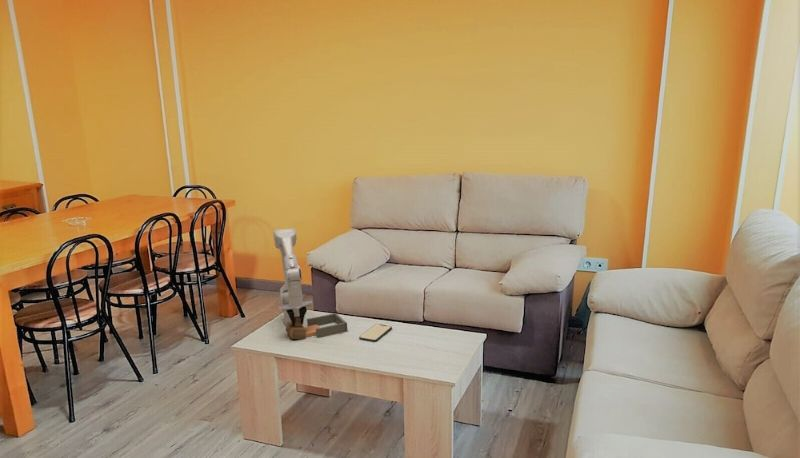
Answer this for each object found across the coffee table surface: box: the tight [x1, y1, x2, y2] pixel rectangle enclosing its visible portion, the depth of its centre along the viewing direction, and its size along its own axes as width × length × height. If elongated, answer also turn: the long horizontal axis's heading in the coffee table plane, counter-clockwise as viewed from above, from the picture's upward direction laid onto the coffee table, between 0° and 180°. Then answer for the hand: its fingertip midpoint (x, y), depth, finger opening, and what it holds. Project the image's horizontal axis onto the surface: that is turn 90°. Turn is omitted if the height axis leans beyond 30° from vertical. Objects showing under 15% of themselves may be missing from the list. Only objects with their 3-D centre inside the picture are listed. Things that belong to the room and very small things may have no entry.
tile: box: [304, 325, 321, 339], centre depth 262 cm, size 8×8×2 cm
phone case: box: [358, 323, 393, 343], centre depth 258 cm, size 9×2×16 cm
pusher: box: [285, 316, 306, 340], centre depth 258 cm, size 10×6×8 cm, turn 26°
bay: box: [306, 312, 348, 339], centre depth 265 cm, size 14×14×4 cm
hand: (297, 324), depth 258 cm, fingers closed on pusher, 3 cm apart
